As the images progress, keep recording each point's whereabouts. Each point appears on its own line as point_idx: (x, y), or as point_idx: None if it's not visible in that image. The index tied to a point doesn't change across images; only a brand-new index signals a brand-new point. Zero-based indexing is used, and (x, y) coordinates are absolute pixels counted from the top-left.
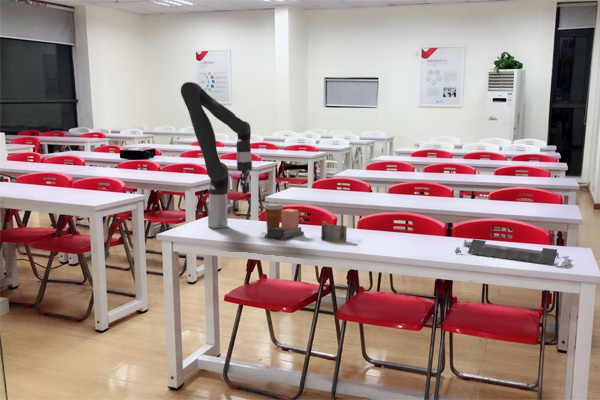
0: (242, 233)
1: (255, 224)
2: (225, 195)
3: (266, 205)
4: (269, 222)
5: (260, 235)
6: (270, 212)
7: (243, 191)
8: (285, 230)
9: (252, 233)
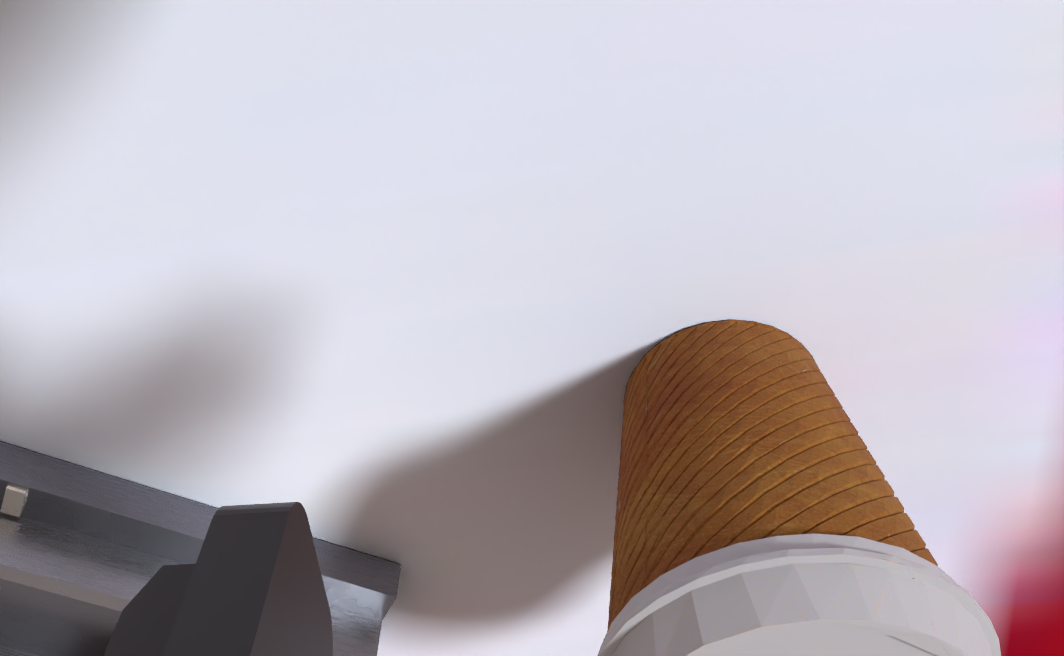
0: (45, 27)
1: (973, 88)
2: None
3: (676, 648)
4: (632, 427)
5: (36, 334)
6: (614, 590)
7: (132, 649)
8: None
9: (125, 197)
